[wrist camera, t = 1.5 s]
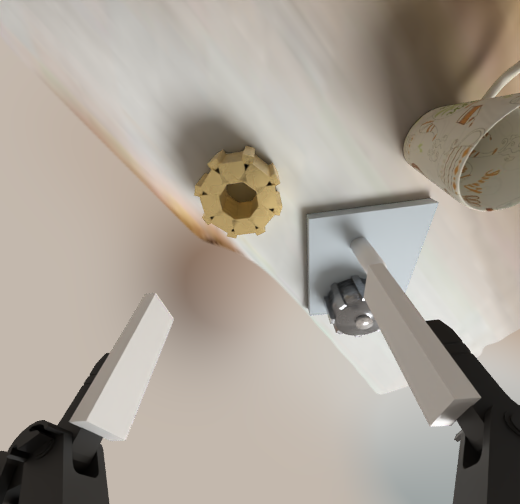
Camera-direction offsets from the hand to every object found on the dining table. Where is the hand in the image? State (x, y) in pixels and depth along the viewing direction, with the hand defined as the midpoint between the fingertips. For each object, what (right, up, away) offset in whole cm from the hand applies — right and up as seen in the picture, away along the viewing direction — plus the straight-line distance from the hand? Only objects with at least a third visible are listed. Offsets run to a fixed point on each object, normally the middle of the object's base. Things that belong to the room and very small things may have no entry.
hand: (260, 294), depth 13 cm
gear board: (+16, +1, +20) cm, 26 cm away
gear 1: (-2, +11, +13) cm, 17 cm away
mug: (+20, +17, +9) cm, 28 cm away
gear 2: (+15, -5, +23) cm, 28 cm away
